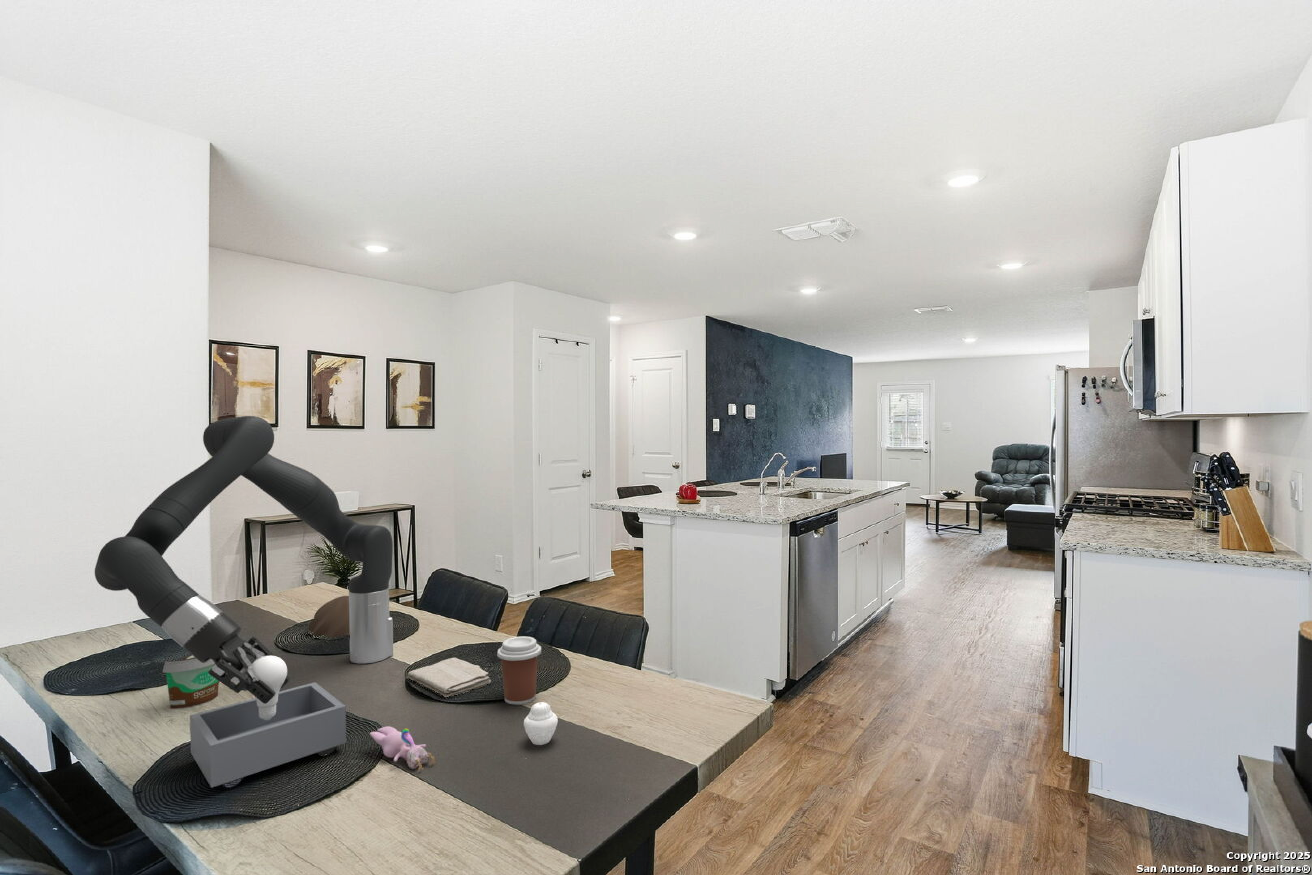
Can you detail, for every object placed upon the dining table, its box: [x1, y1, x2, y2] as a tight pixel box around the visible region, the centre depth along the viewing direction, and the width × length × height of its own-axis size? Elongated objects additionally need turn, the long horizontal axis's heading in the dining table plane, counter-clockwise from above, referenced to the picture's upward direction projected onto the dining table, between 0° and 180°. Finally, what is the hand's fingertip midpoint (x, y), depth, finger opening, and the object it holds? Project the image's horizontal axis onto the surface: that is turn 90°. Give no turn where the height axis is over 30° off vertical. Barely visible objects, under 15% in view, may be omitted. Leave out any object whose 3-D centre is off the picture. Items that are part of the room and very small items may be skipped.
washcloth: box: [406, 657, 492, 698], centre depth 147 cm, size 12×18×3 cm, turn 49°
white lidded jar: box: [523, 701, 559, 746], centre depth 117 cm, size 6×6×7 cm
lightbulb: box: [246, 655, 288, 720], centre depth 113 cm, size 6×6×11 cm
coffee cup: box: [496, 635, 542, 706], centre depth 136 cm, size 9×9×12 cm
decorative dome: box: [307, 595, 350, 637], centre depth 187 cm, size 19×20×10 cm
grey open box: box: [189, 681, 347, 789], centre depth 113 cm, size 20×16×8 cm
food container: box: [162, 654, 220, 709], centre depth 138 cm, size 12×6×10 cm, turn 168°
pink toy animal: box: [369, 726, 436, 773], centre depth 112 cm, size 6×6×15 cm
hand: (278, 691), depth 113 cm, fingers closed on lightbulb, 6 cm apart
